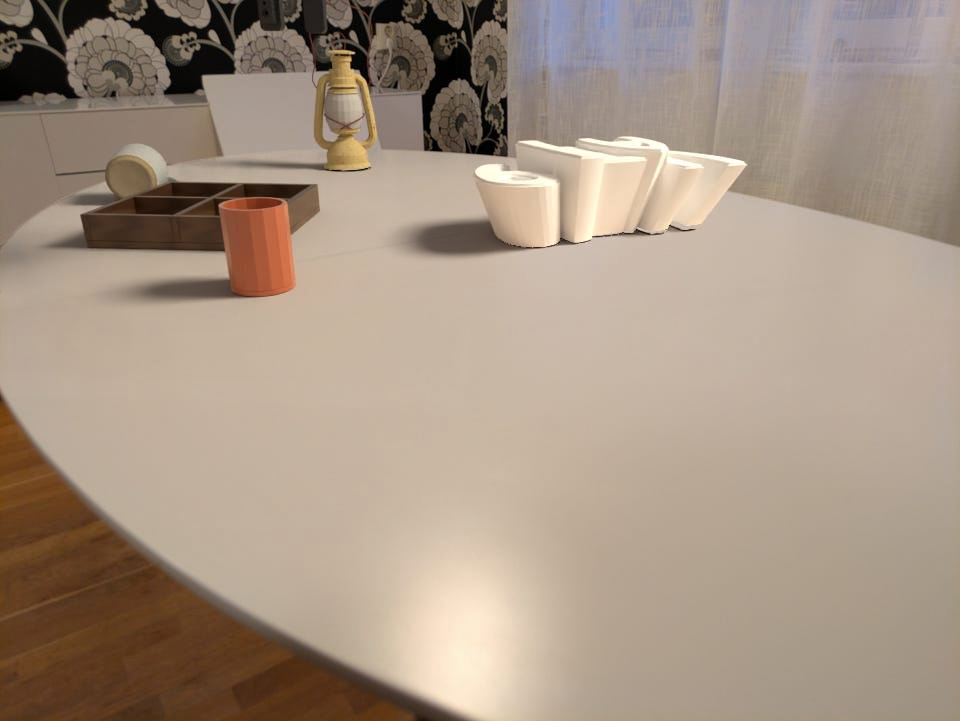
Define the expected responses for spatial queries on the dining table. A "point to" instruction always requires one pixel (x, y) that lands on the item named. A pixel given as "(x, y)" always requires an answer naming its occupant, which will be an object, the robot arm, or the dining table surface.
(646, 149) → the white wavy slab sculpture
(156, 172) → the ceramic mug
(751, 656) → the dining table surface
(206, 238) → the tray
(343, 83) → the lantern
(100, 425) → the dining table surface
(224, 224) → the cup
